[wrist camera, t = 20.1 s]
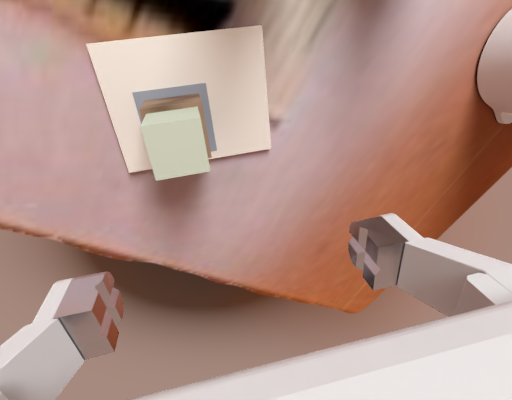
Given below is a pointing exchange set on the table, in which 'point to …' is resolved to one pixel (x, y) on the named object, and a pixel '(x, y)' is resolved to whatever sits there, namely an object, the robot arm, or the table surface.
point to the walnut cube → (177, 103)
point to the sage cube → (175, 143)
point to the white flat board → (188, 86)
